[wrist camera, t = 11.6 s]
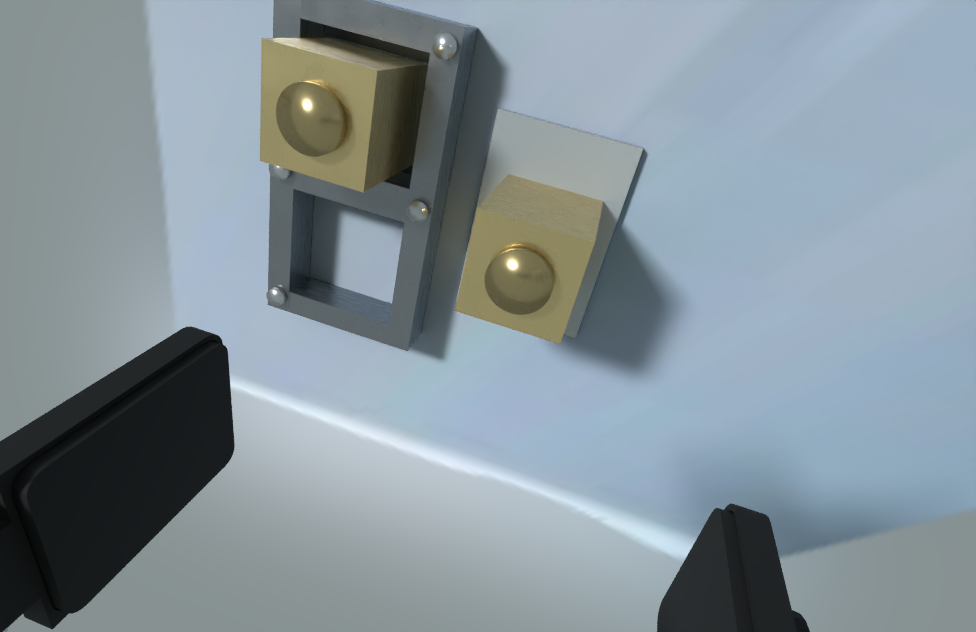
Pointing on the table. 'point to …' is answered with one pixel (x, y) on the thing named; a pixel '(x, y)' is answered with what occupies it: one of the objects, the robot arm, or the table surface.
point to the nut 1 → (339, 109)
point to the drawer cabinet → (406, 198)
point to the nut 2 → (528, 256)
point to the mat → (564, 177)
